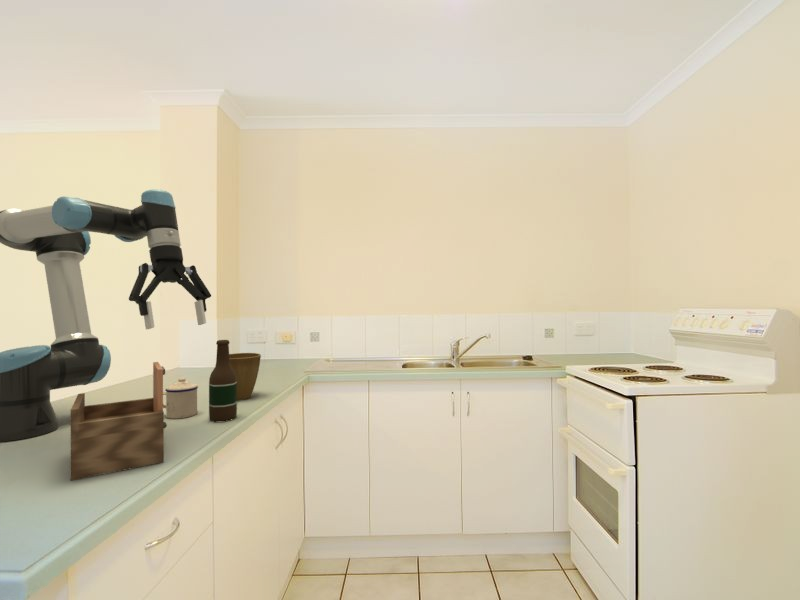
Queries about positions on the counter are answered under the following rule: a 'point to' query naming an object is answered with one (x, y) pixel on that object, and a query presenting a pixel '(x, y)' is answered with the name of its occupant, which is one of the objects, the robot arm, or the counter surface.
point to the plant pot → (245, 372)
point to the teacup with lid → (181, 399)
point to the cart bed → (114, 436)
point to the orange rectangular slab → (158, 387)
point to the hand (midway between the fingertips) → (177, 326)
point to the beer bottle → (222, 386)
